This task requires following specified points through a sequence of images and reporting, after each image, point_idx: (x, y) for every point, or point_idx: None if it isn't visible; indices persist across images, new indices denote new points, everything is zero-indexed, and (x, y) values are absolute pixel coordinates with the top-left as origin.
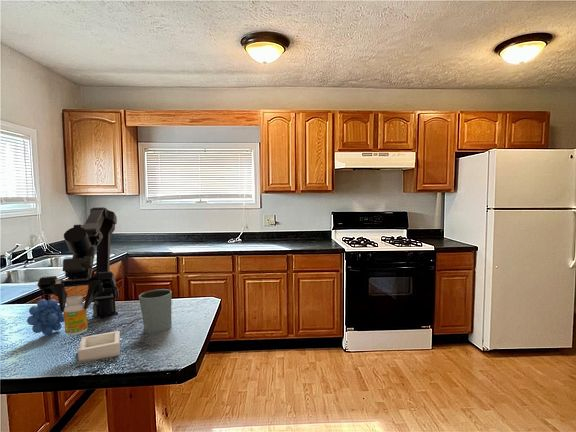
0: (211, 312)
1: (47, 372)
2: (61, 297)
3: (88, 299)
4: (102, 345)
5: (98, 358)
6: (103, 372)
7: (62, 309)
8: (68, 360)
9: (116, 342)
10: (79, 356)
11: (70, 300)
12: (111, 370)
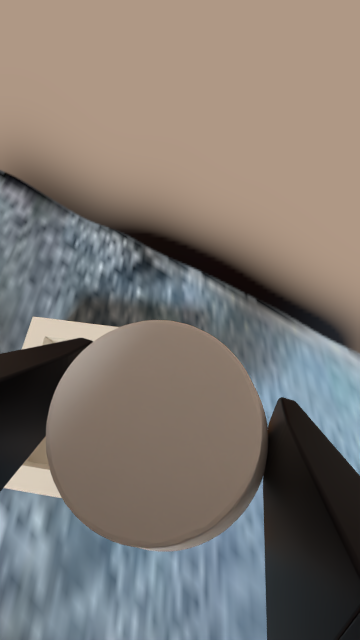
0: None
1: (278, 344)
2: (340, 501)
3: (16, 351)
4: (92, 330)
5: None
6: (125, 246)
7: (277, 405)
8: None
9: (39, 327)
10: None
11: (204, 334)
12: (104, 245)
